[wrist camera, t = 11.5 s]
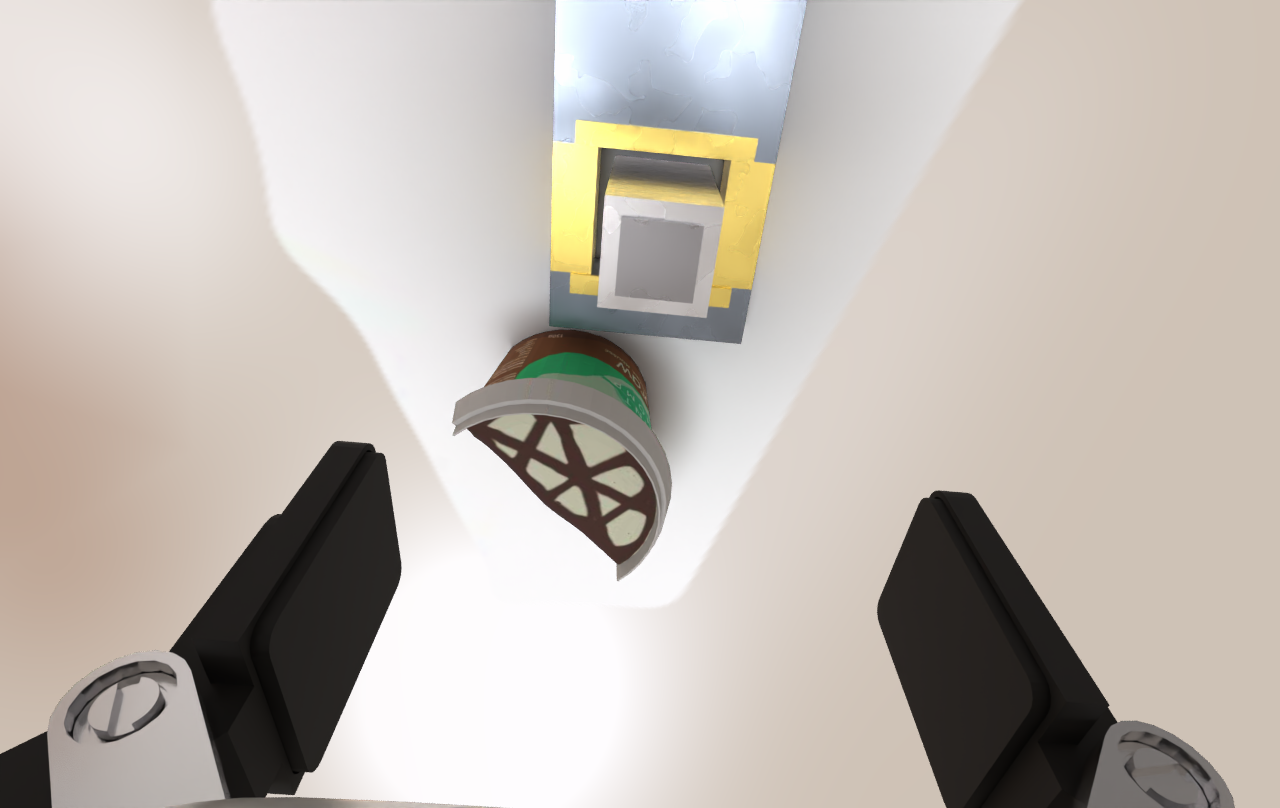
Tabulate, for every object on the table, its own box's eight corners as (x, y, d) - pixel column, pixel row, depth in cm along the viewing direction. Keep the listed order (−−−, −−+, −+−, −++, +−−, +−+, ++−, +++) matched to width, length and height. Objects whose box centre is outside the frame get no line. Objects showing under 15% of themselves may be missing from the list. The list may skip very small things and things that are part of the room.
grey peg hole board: (576, -494, 21) (566, -556, 19) (879, -454, 21) (906, -510, 19) (555, 307, 35) (548, 327, 33) (735, 323, 36) (741, 345, 33)
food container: (709, 418, 39) (725, 532, 31) (630, 467, 41) (624, 587, 33) (574, 263, 34) (548, 347, 26) (492, 328, 36) (443, 427, 28)
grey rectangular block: (615, 154, 31) (604, 196, 24) (709, 164, 31) (725, 209, 24) (608, 247, 34) (596, 310, 27) (695, 256, 34) (706, 320, 27)
